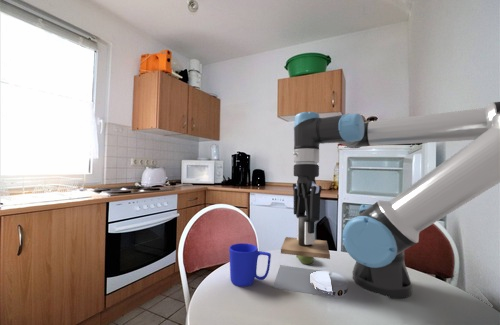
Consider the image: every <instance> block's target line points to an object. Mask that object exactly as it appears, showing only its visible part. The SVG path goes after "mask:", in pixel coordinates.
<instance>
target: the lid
mask: <svg viewBox="0 0 500 325" xmlns="http://www.w3.org/2000/svg"><path fill="white" fill-rule="evenodd" d="M304 220H306V217H304V216H302V217H299V240H297V237H291V236H290V237H289V236H285V238H284V240H283V243H282V244H281V248H280V255H281V254H283V255H289V256H290V255H292V256H296V255H299V256H308V257H314V258H317V259H328V260H330V259H331V255H330V250H329V244H328V241H327V240H321V239H314V244H309V245H305V221H304Z"/></svg>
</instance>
